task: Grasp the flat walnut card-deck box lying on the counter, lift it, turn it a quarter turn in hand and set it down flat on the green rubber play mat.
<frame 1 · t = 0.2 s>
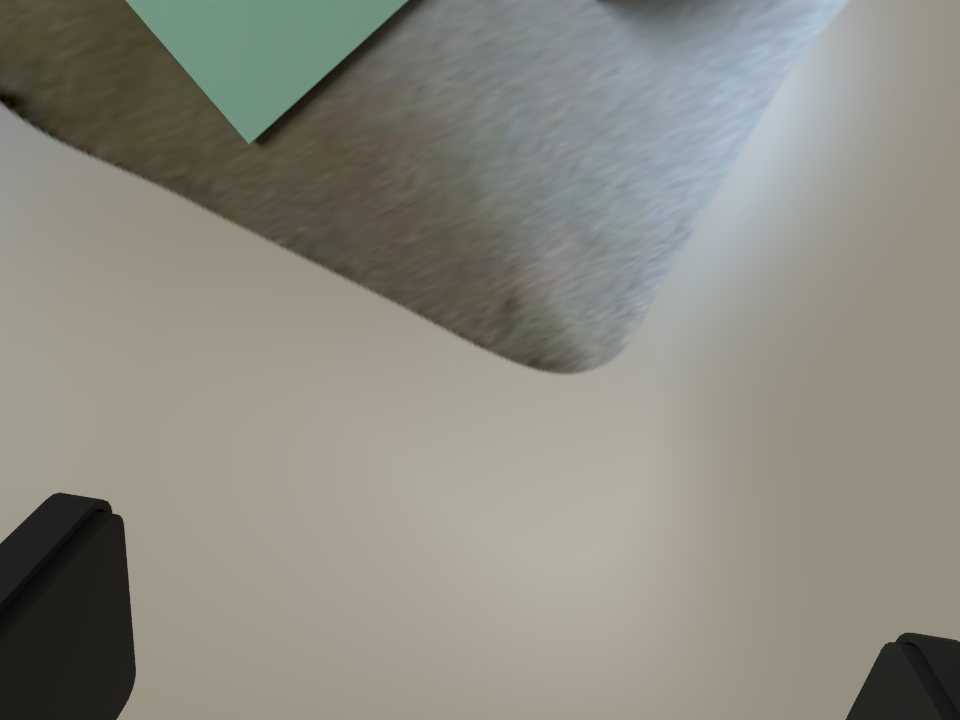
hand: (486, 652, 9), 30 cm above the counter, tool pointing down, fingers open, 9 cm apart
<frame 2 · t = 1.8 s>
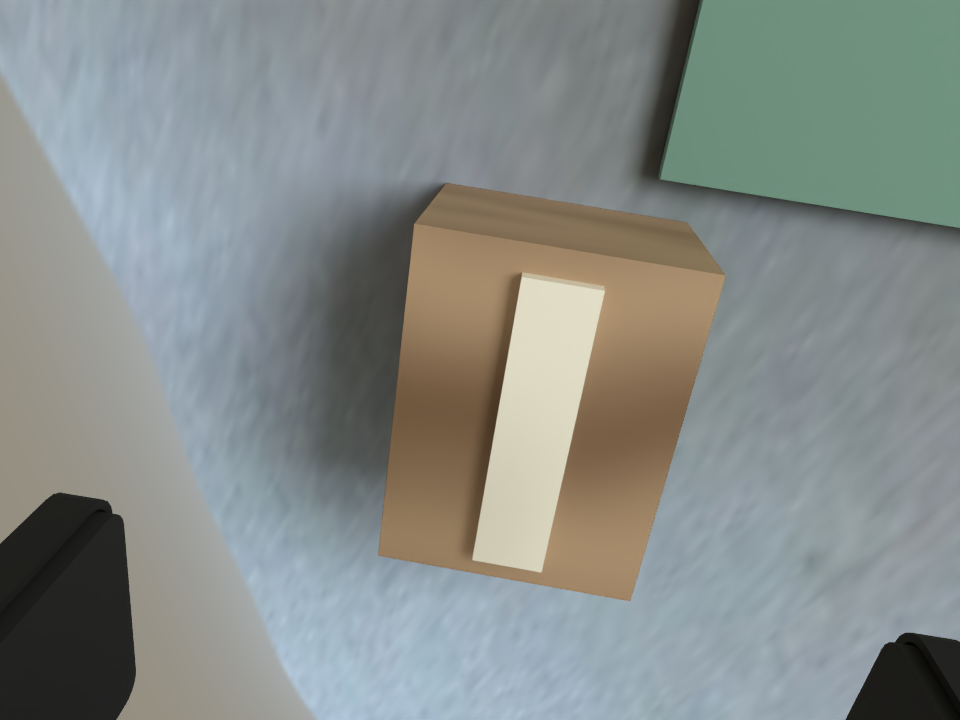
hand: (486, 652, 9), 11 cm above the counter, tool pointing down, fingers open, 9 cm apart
card deck: (537, 350, 20), on the counter
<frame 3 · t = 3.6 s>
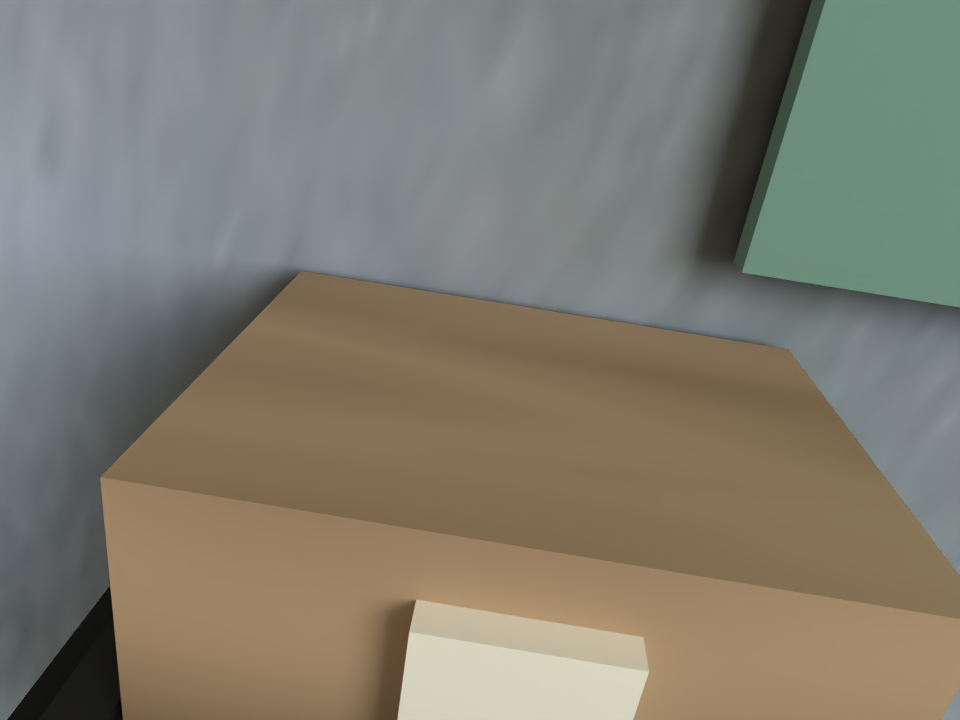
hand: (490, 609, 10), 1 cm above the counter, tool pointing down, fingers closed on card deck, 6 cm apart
card deck: (495, 565, 11), on the counter, touching gripper
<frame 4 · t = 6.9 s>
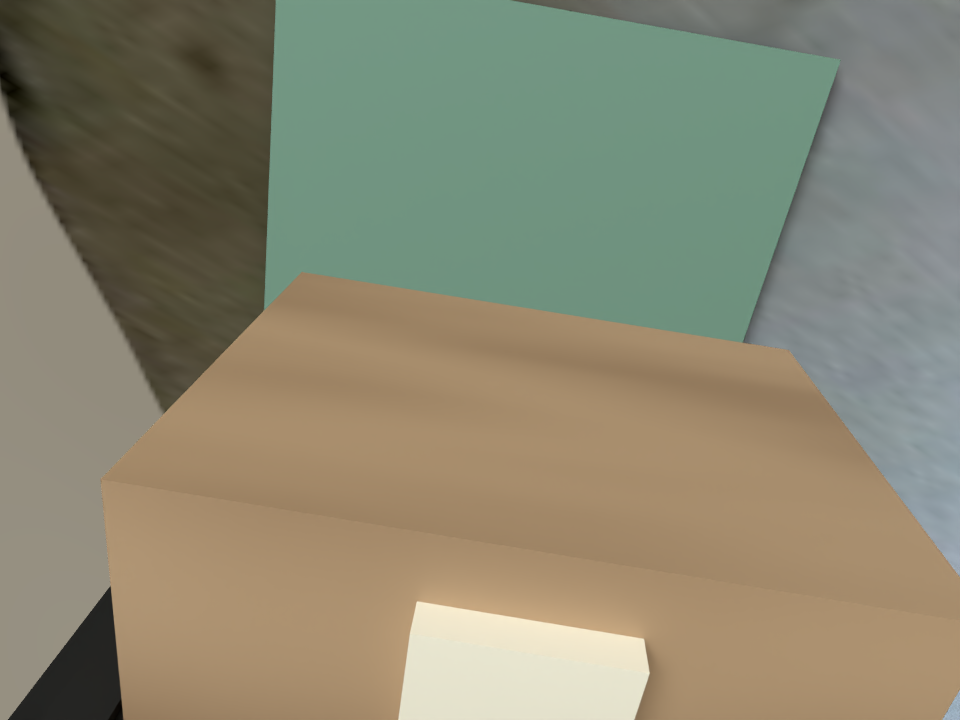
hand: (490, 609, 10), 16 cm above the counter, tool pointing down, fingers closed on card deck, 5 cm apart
card deck: (495, 566, 11), point 15 cm above the counter, touching gripper
play mat: (513, 244, 24), on the counter
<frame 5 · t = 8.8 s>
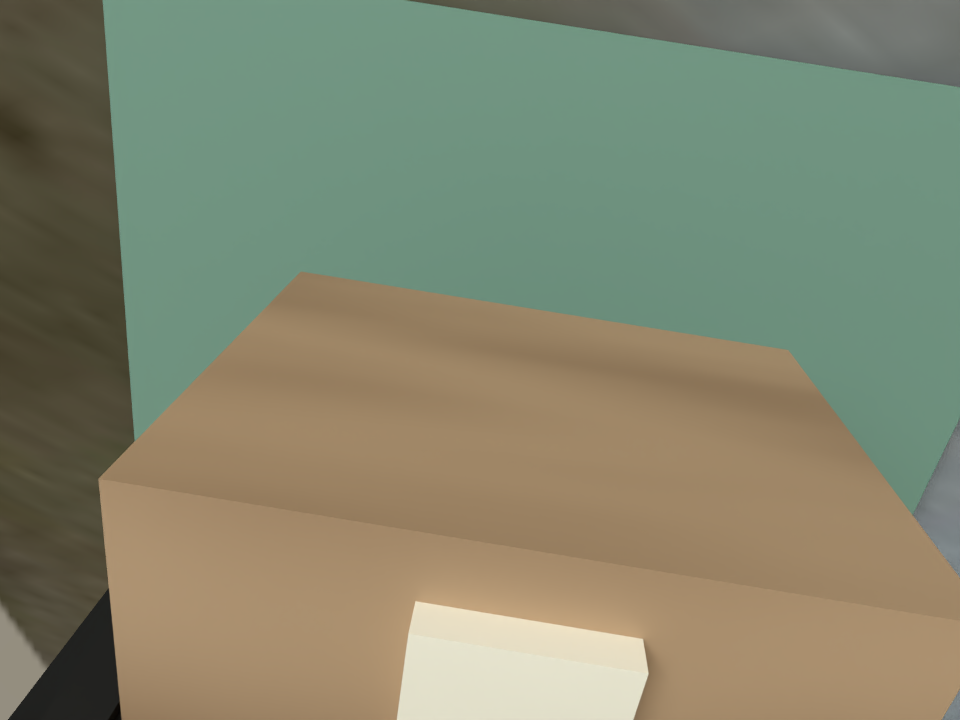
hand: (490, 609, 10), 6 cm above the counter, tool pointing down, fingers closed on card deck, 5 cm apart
card deck: (494, 566, 11), point 5 cm above the counter, touching gripper
play mat: (524, 405, 15), on the counter
when the fingers open (3 cm above the counter, at t = 10.3 s): card deck drops 1 cm, resting on play mat.
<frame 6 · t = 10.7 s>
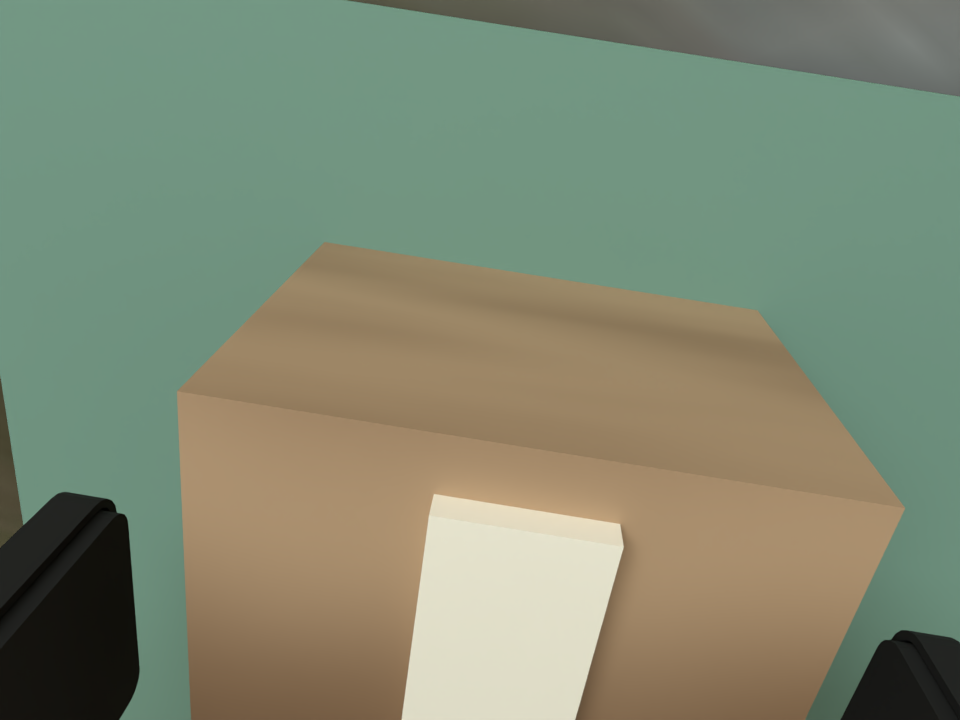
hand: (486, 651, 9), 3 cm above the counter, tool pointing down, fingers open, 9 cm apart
card deck: (497, 511, 12), resting on play mat
play mat: (500, 496, 12), on the counter
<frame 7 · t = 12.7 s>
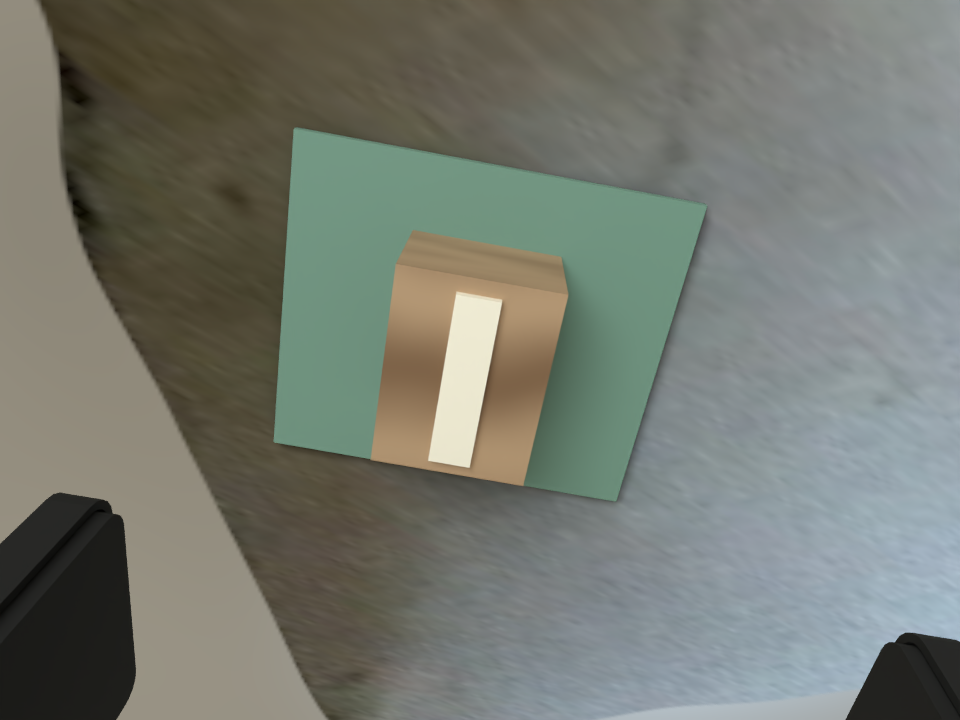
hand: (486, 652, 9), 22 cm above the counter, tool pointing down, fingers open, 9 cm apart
card deck: (470, 334, 31), resting on play mat
play mat: (472, 330, 31), on the counter
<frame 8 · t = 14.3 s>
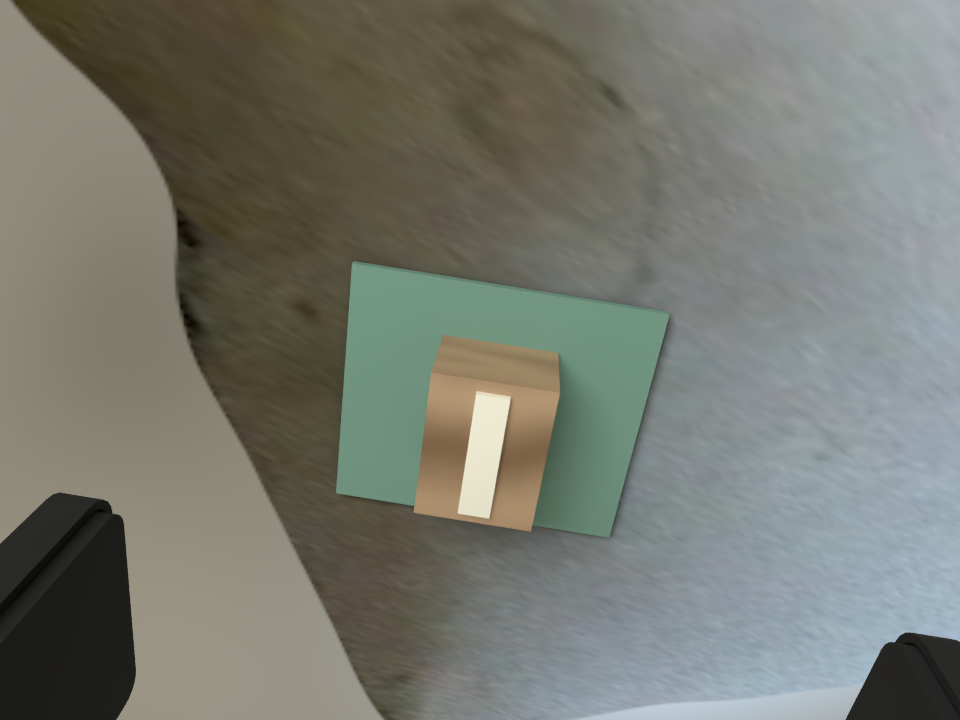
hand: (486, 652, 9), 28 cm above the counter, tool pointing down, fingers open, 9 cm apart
card deck: (489, 410, 39), resting on play mat
play mat: (490, 407, 40), on the counter
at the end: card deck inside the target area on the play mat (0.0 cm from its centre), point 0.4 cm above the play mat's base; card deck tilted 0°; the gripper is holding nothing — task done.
